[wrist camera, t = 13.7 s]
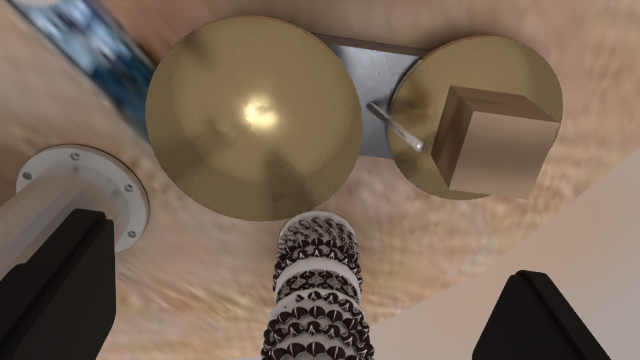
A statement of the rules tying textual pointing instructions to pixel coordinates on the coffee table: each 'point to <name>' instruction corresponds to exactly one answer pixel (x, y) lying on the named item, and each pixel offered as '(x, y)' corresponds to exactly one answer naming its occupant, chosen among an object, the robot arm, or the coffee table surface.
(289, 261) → the decorative candle
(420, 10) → the coffee table surface
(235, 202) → the balance
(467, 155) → the walnut block
